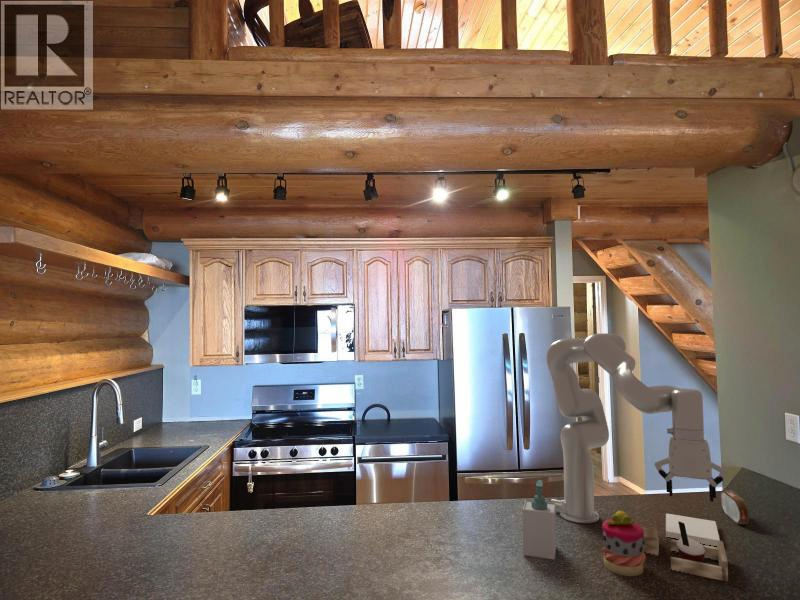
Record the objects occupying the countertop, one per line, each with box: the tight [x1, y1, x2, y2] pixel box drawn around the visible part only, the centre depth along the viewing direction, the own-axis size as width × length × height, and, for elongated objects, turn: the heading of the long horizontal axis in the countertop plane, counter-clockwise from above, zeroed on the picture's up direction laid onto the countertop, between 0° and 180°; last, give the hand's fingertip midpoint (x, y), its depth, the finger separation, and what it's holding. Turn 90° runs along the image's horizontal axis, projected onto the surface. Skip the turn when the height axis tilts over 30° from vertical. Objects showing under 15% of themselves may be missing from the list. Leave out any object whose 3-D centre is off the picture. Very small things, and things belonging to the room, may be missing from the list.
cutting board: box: [665, 513, 721, 548], centre depth 158 cm, size 14×16×2 cm
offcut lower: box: [643, 537, 660, 556], centre depth 147 cm, size 5×8×2 cm, turn 152°
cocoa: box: [677, 521, 705, 563], centre depth 138 cm, size 10×6×12 cm, turn 101°
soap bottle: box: [522, 479, 557, 560], centre depth 146 cm, size 9×9×19 cm
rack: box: [670, 539, 729, 582], centre depth 137 cm, size 13×13×5 cm
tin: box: [720, 489, 750, 526], centre depth 169 cm, size 15×3×8 cm, turn 168°
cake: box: [601, 510, 647, 577], centre depth 136 cm, size 10×11×15 cm
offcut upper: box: [641, 526, 659, 548], centre depth 147 cm, size 5×7×2 cm, turn 155°
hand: (690, 497), depth 138 cm, fingers open, 9 cm apart
